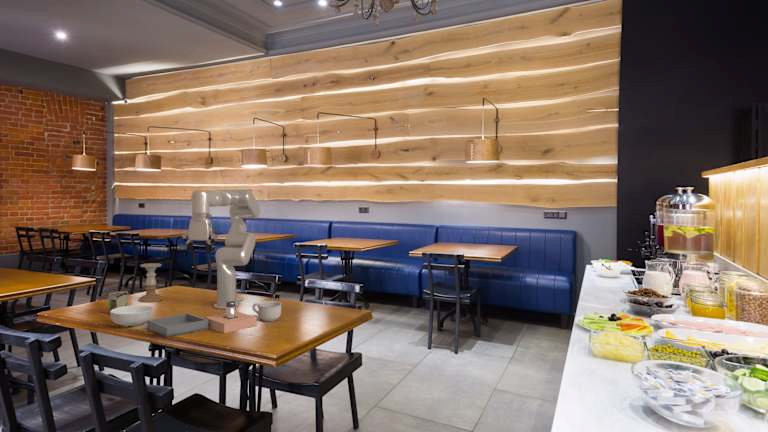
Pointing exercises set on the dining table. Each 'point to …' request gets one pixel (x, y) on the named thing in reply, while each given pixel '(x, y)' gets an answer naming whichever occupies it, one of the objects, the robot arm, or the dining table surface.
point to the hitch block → (231, 322)
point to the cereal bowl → (131, 315)
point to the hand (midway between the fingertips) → (199, 252)
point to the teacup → (268, 310)
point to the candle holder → (150, 284)
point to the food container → (118, 299)
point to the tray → (177, 325)
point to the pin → (230, 309)
